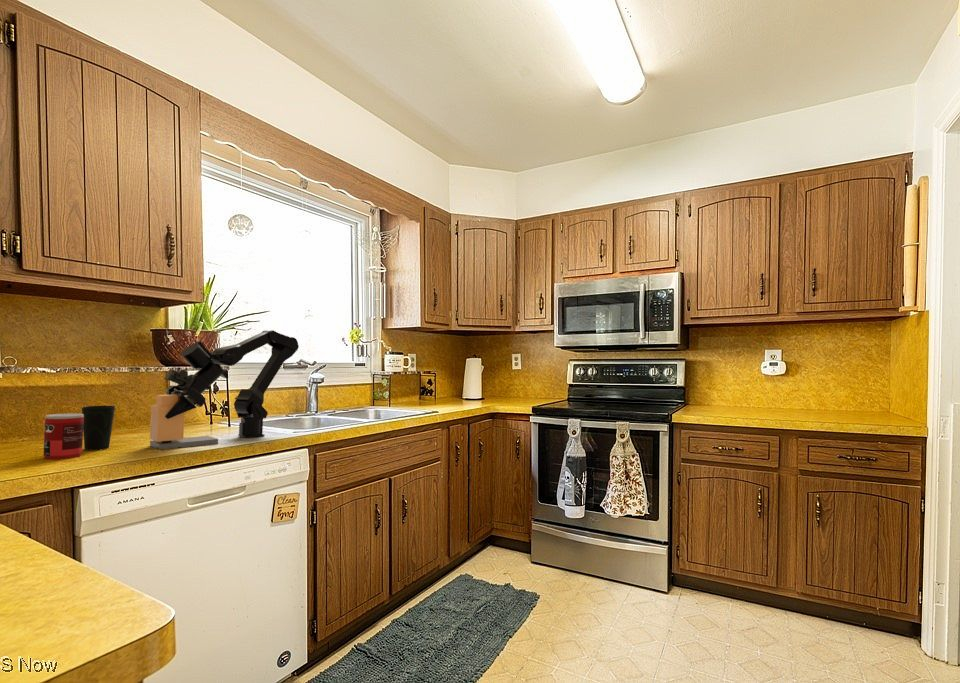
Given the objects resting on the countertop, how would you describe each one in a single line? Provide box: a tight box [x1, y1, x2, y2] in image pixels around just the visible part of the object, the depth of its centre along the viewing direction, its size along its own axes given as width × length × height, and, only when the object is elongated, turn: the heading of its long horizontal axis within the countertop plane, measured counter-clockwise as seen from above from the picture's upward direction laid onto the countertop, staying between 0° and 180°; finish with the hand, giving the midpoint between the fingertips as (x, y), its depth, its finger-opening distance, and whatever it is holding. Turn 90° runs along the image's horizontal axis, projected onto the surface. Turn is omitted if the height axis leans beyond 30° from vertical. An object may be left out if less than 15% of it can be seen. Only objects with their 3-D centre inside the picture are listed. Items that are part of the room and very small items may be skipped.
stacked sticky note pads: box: [149, 394, 185, 442], centre depth 150 cm, size 7×7×13 cm
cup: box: [81, 405, 116, 451], centre depth 145 cm, size 8×8×12 cm
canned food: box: [42, 412, 84, 460], centre depth 133 cm, size 8×8×11 cm
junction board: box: [149, 435, 219, 451], centre depth 154 cm, size 16×9×4 cm, turn 138°
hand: (162, 416), depth 149 cm, fingers open, 7 cm apart
